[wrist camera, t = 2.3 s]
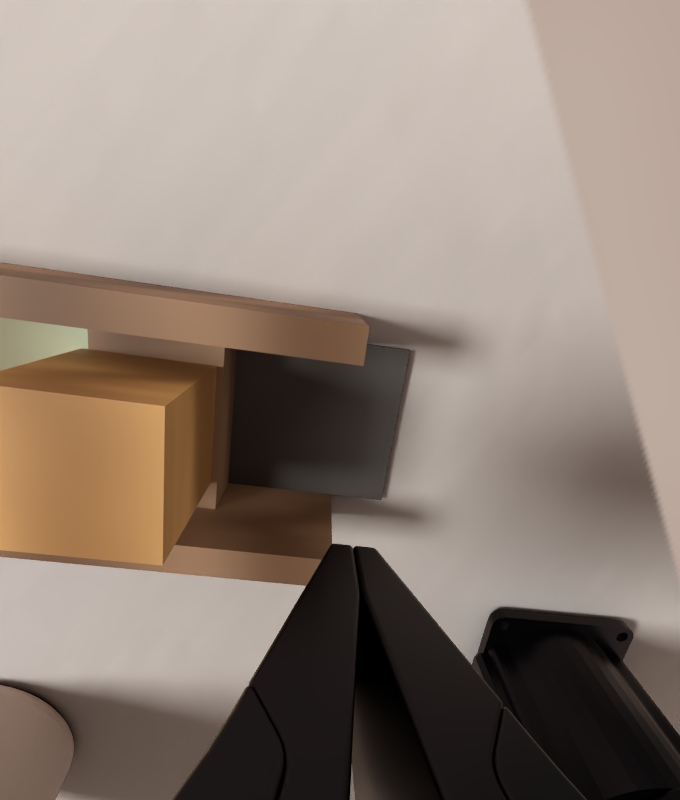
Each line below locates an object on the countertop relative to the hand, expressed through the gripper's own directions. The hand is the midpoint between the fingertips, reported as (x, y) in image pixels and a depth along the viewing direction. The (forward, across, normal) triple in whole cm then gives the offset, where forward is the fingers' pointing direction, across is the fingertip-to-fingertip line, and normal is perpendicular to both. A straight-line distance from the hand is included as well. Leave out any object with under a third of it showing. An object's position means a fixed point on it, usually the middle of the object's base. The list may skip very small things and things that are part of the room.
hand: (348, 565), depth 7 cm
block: (+6, +6, 0) cm, 8 cm away
